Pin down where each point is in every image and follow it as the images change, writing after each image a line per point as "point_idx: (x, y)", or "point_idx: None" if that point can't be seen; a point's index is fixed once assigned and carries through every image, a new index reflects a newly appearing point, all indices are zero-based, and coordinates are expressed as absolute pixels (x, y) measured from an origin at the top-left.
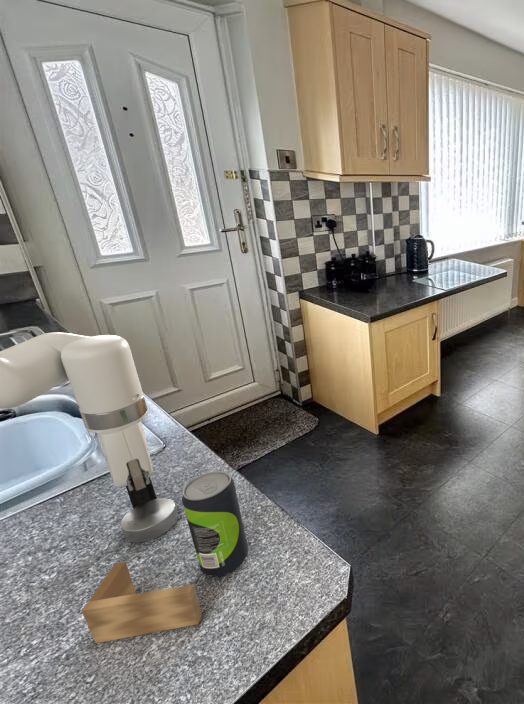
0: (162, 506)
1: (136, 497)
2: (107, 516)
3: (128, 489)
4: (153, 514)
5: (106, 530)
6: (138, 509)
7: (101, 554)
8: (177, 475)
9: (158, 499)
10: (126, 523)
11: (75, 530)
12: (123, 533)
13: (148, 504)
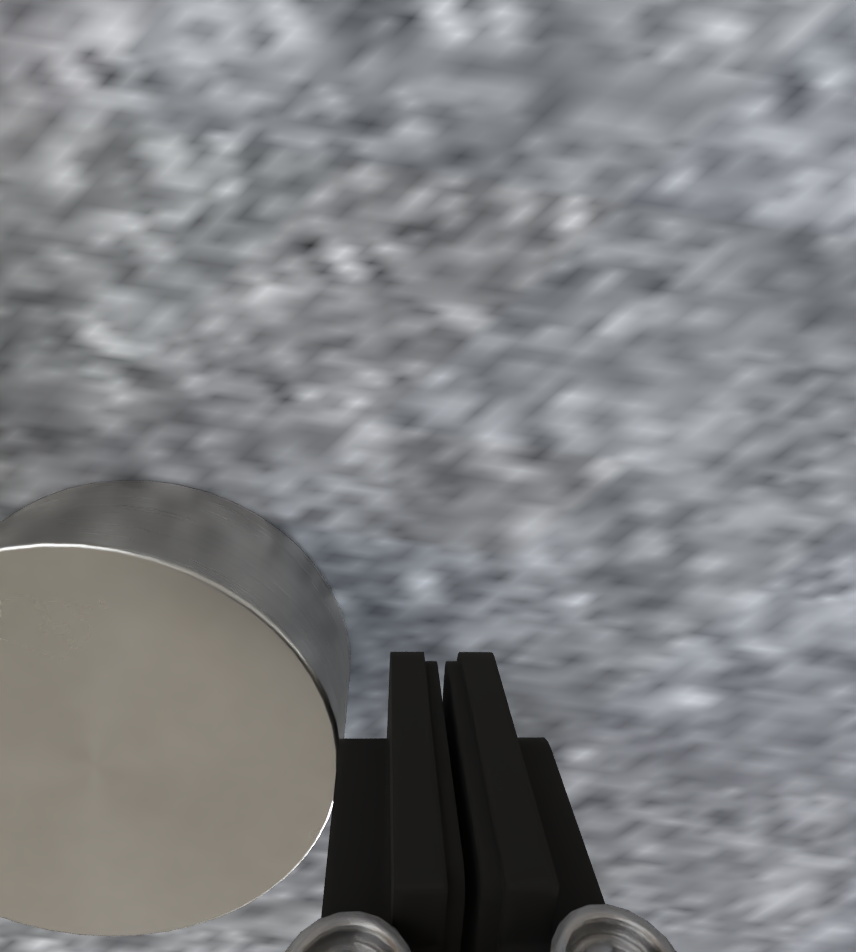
0: (138, 864)
1: (334, 817)
2: (594, 419)
3: (417, 902)
4: (46, 796)
5: (376, 379)
6: (253, 711)
7: (15, 287)
8: (699, 878)
9: (288, 858)
10: (69, 592)
11: (615, 157)
12: (76, 506)
13: (273, 786)
